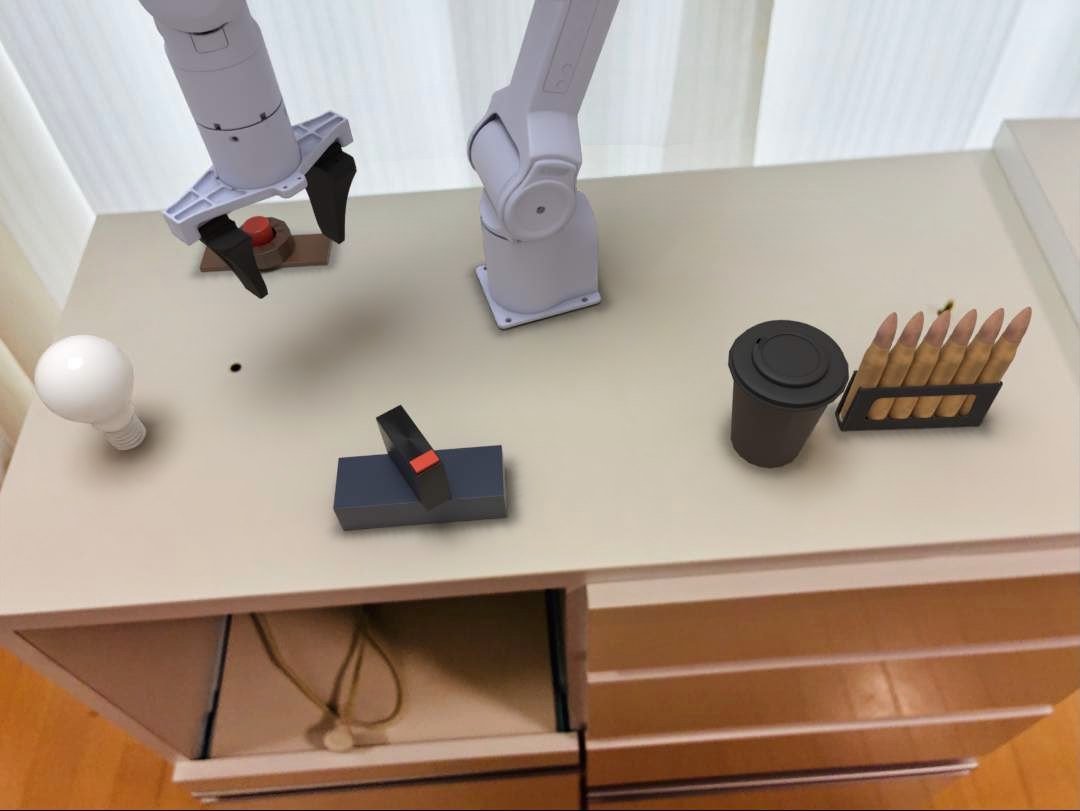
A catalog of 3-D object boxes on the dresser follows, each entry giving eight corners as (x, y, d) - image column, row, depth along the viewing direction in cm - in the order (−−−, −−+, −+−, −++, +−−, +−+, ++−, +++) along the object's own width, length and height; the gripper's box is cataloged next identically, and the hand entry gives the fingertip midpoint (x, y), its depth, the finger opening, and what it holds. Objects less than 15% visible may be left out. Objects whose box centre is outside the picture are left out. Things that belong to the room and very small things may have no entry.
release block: (333, 233, 80) (327, 213, 79) (326, 270, 77) (320, 251, 75) (211, 239, 81) (202, 220, 79) (199, 277, 77) (190, 258, 75)
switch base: (504, 467, 63) (501, 444, 60) (507, 517, 60) (504, 495, 58) (347, 479, 63) (338, 457, 60) (343, 530, 60) (332, 509, 58)
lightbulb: (149, 480, 63) (80, 390, 55) (76, 468, 64) (-4, 378, 56) (186, 415, 67) (127, 322, 59) (117, 405, 68) (48, 311, 60)
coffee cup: (707, 397, 66) (724, 310, 58) (810, 397, 66) (841, 309, 58) (717, 483, 61) (737, 400, 53) (829, 484, 61) (865, 400, 53)
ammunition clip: (839, 431, 63) (884, 323, 54) (834, 412, 65) (876, 303, 55) (980, 426, 63) (1050, 316, 54) (972, 407, 64) (1039, 296, 55)
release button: (276, 229, 78) (270, 214, 77) (272, 246, 77) (266, 231, 75) (251, 230, 78) (245, 216, 77) (246, 247, 77) (240, 233, 75)
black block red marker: (387, 454, 60) (374, 415, 57) (411, 441, 61) (400, 401, 57) (427, 512, 57) (416, 475, 53) (452, 498, 58) (442, 460, 54)
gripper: (178, 185, 48) (252, 342, 59) (363, 75, 54) (400, 234, 65) (112, 141, 51) (194, 298, 62) (295, 42, 57) (341, 200, 68)
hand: (296, 263), depth 64 cm, fingers open, 7 cm apart
